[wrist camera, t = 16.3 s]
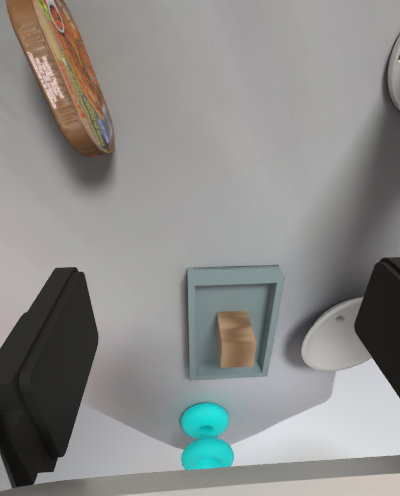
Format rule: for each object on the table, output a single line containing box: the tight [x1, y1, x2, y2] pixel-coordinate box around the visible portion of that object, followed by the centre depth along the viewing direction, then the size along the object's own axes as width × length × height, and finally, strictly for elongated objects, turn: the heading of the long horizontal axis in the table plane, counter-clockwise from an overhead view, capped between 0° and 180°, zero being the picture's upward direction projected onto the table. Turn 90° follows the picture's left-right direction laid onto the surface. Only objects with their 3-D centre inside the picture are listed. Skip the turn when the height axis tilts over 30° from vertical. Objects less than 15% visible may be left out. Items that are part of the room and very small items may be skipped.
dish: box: [301, 297, 372, 371], centre depth 50 cm, size 18×14×5 cm
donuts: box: [181, 403, 234, 470], centre depth 60 cm, size 10×10×10 cm
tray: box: [187, 265, 285, 380], centre depth 50 cm, size 14×22×3 cm, turn 0°
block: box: [216, 311, 256, 368], centre depth 48 cm, size 5×5×7 cm
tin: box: [6, 0, 115, 157], centre depth 29 cm, size 15×3×8 cm, turn 14°
